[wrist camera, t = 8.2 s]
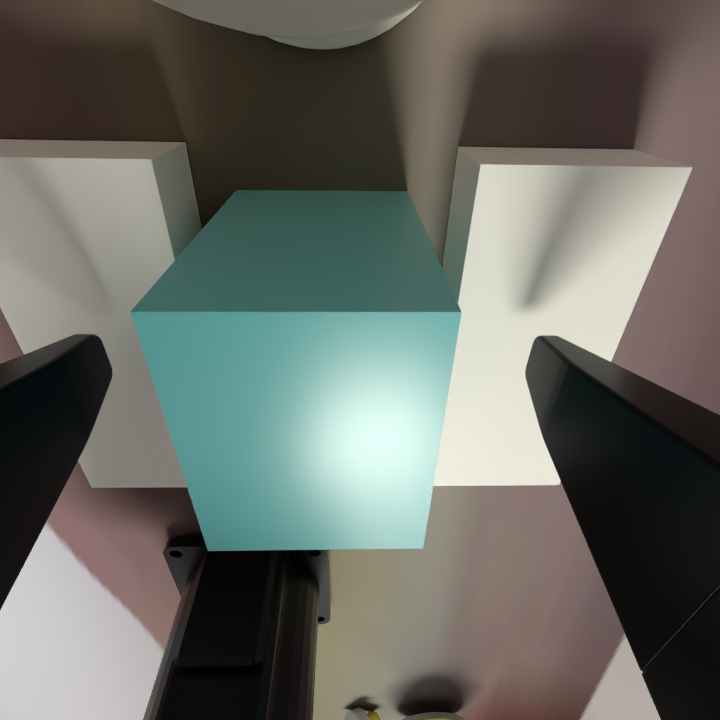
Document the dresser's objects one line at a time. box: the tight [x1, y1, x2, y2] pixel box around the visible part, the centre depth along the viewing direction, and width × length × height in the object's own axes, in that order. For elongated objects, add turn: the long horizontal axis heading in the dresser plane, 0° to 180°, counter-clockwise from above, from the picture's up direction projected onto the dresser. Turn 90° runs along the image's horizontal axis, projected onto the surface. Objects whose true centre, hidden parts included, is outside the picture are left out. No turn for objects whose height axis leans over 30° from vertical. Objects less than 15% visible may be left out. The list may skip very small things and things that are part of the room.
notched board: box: [0, 139, 693, 488], centre depth 11 cm, size 9×14×2 cm, turn 89°
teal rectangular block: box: [130, 190, 462, 551], centre depth 9 cm, size 5×4×6 cm
